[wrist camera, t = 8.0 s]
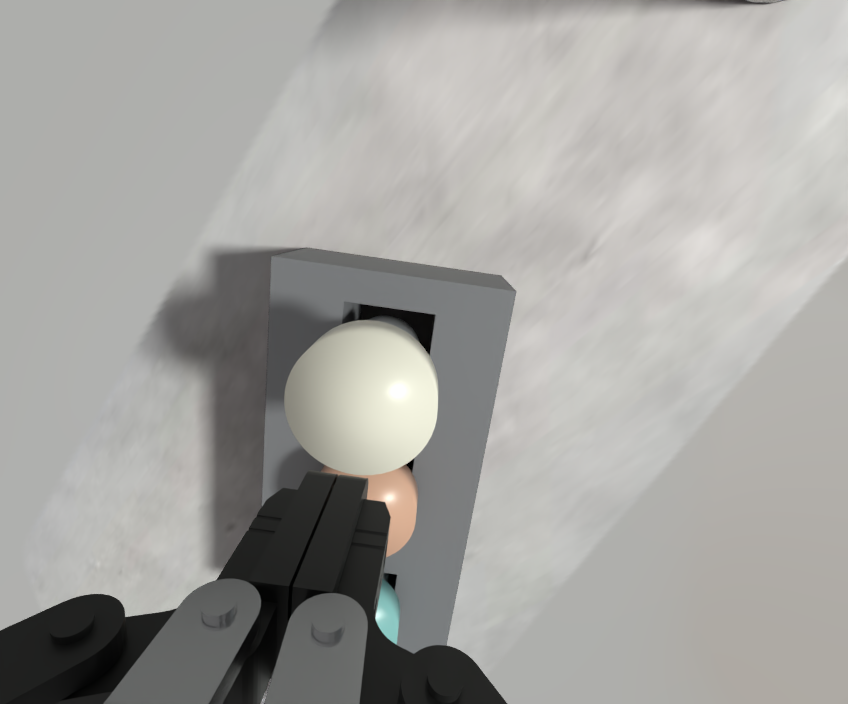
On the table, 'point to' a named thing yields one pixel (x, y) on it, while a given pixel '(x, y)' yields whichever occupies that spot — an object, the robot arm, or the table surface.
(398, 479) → the knob mid
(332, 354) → the knob
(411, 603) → the mount
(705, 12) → the table surface
